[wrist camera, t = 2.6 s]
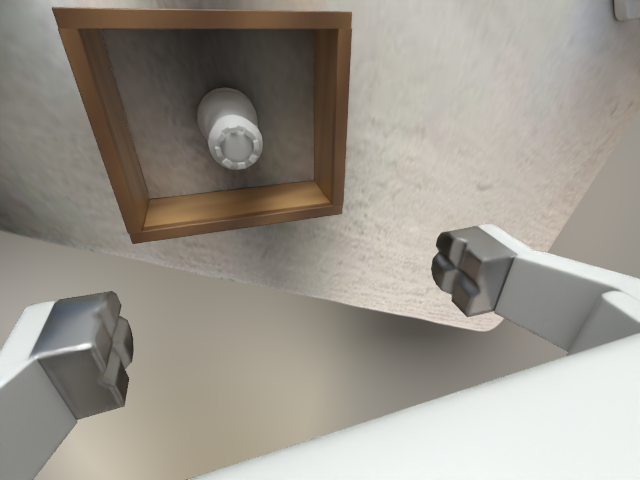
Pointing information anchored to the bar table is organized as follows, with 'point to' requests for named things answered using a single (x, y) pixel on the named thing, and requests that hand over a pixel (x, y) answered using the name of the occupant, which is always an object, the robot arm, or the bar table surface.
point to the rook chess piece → (230, 128)
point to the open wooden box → (223, 206)
